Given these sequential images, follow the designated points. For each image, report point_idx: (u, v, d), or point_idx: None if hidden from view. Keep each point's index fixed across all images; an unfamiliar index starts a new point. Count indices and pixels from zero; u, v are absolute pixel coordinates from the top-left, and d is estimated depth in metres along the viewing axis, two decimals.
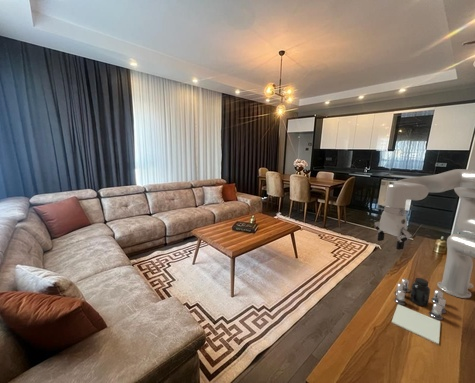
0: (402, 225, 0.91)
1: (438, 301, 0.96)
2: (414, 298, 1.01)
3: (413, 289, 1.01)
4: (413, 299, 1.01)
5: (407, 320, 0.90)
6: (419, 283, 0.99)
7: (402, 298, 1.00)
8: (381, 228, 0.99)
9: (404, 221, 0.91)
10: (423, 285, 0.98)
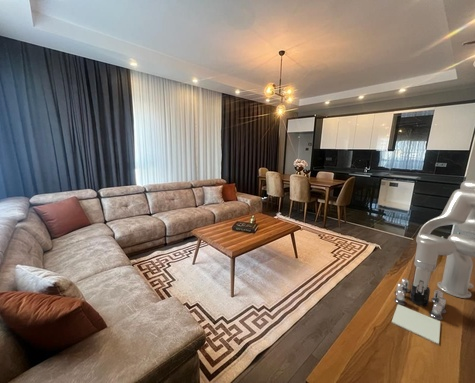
0: None
1: (438, 301, 0.96)
2: None
3: (413, 289, 1.01)
4: (413, 299, 1.01)
5: (407, 320, 0.90)
6: None
7: (402, 298, 1.00)
8: (426, 287, 0.96)
9: None
10: None
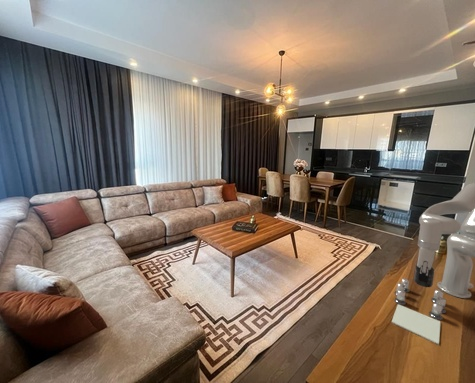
0: None
1: (438, 301, 0.96)
2: None
3: (417, 270, 0.99)
4: (417, 280, 0.99)
5: (407, 320, 0.90)
6: None
7: (402, 298, 1.00)
8: None
9: None
10: None
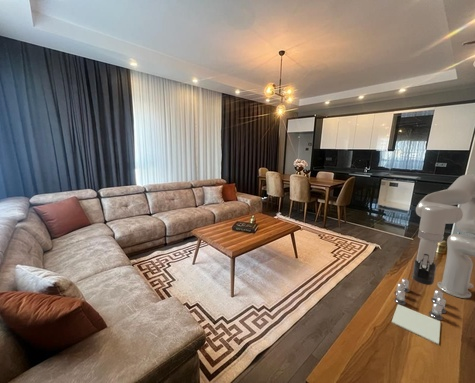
0: None
1: (438, 301, 0.96)
2: None
3: (416, 265, 0.87)
4: (417, 277, 0.87)
5: (407, 320, 0.90)
6: None
7: (402, 298, 1.00)
8: (432, 262, 0.83)
9: None
10: None
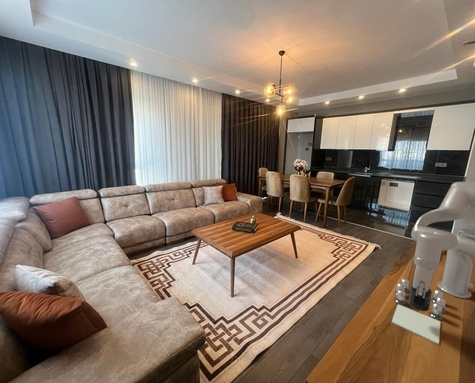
0: None
1: (438, 301, 0.96)
2: None
3: (412, 291, 0.87)
4: (413, 303, 0.87)
5: (407, 320, 0.90)
6: None
7: (402, 298, 1.00)
8: None
9: None
10: None
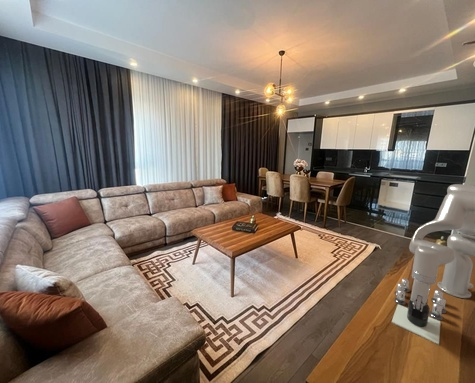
0: None
1: (438, 301, 0.96)
2: (412, 317, 0.88)
3: (410, 307, 0.89)
4: (411, 318, 0.89)
5: (407, 320, 0.90)
6: None
7: (402, 298, 1.00)
8: None
9: None
10: None
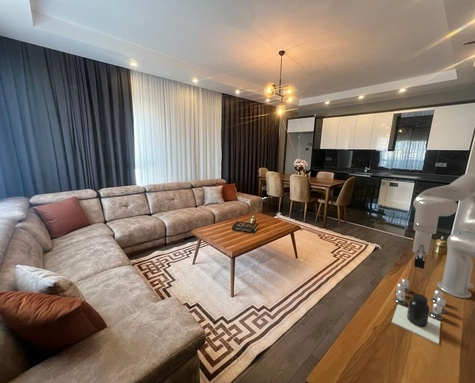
0: None
1: (438, 301, 0.96)
2: (412, 317, 0.88)
3: (410, 307, 0.89)
4: (411, 318, 0.89)
5: (407, 320, 0.90)
6: (417, 300, 0.87)
7: (402, 298, 1.00)
8: (427, 252, 0.88)
9: None
10: (422, 303, 0.86)
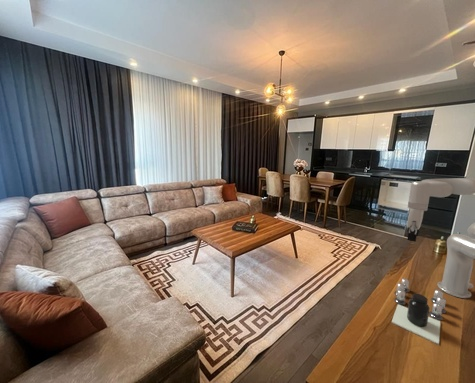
0: None
1: (438, 301, 0.96)
2: (412, 317, 0.88)
3: (410, 307, 0.89)
4: (411, 318, 0.89)
5: (407, 320, 0.90)
6: (417, 300, 0.87)
7: (402, 298, 1.00)
8: (419, 227, 1.01)
9: None
10: (422, 303, 0.86)
